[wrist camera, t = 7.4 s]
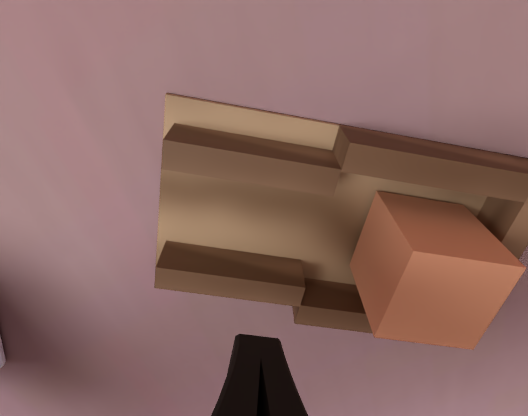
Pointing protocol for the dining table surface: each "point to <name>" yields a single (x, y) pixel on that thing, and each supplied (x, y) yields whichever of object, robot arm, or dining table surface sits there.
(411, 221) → the block
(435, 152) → the chute
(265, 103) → the dining table surface
